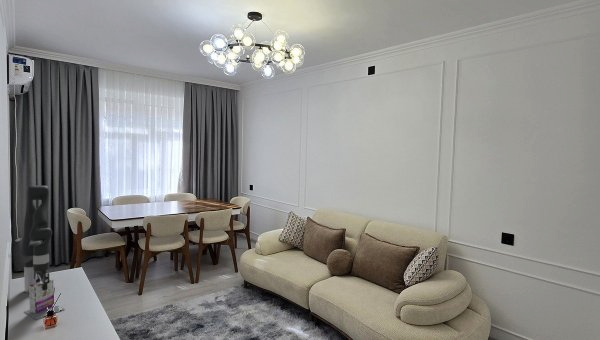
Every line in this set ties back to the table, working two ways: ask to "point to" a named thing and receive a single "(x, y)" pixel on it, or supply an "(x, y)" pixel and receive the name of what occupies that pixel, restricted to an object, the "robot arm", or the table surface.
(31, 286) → the candy bar box
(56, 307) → the mat
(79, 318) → the table surface
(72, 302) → the table surface
